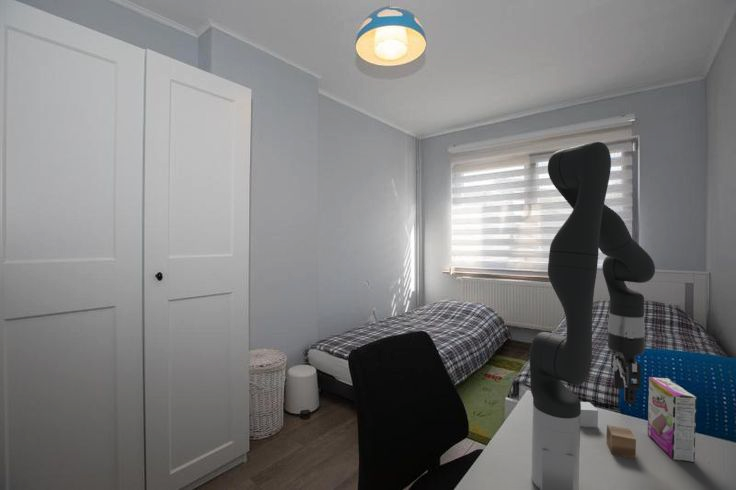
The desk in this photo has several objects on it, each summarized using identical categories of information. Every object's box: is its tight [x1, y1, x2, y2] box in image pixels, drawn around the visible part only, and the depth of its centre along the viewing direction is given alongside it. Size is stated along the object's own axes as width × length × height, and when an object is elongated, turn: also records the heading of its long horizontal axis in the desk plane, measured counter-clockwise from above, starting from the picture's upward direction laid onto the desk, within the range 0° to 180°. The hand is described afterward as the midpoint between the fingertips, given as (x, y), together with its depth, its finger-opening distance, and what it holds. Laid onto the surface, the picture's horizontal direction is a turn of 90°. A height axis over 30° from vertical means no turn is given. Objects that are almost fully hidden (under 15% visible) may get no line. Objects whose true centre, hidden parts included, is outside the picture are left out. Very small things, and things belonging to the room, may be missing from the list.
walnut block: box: [605, 424, 637, 459], centre depth 90 cm, size 5×5×5 cm
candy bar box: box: [647, 376, 697, 463], centre depth 90 cm, size 11×5×16 cm, turn 168°
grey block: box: [580, 401, 599, 428], centre depth 103 cm, size 5×5×5 cm
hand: (624, 394), depth 89 cm, fingers open, 8 cm apart
